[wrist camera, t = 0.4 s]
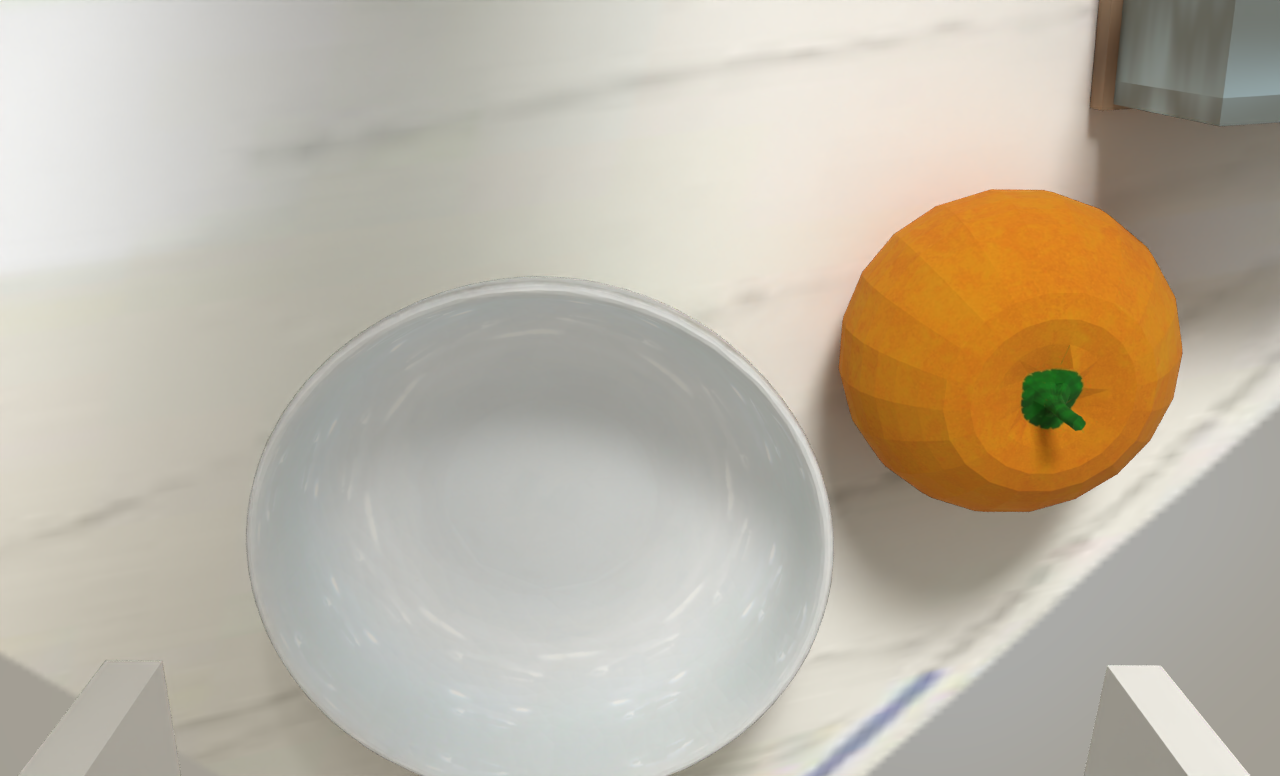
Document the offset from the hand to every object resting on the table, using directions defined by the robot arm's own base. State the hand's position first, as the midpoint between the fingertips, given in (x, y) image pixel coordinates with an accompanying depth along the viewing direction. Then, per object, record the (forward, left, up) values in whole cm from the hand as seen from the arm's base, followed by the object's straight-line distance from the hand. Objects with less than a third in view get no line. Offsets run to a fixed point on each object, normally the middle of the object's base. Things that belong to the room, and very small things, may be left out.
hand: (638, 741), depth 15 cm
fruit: (+3, +14, -27) cm, 31 cm away
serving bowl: (+9, -3, -27) cm, 29 cm away
